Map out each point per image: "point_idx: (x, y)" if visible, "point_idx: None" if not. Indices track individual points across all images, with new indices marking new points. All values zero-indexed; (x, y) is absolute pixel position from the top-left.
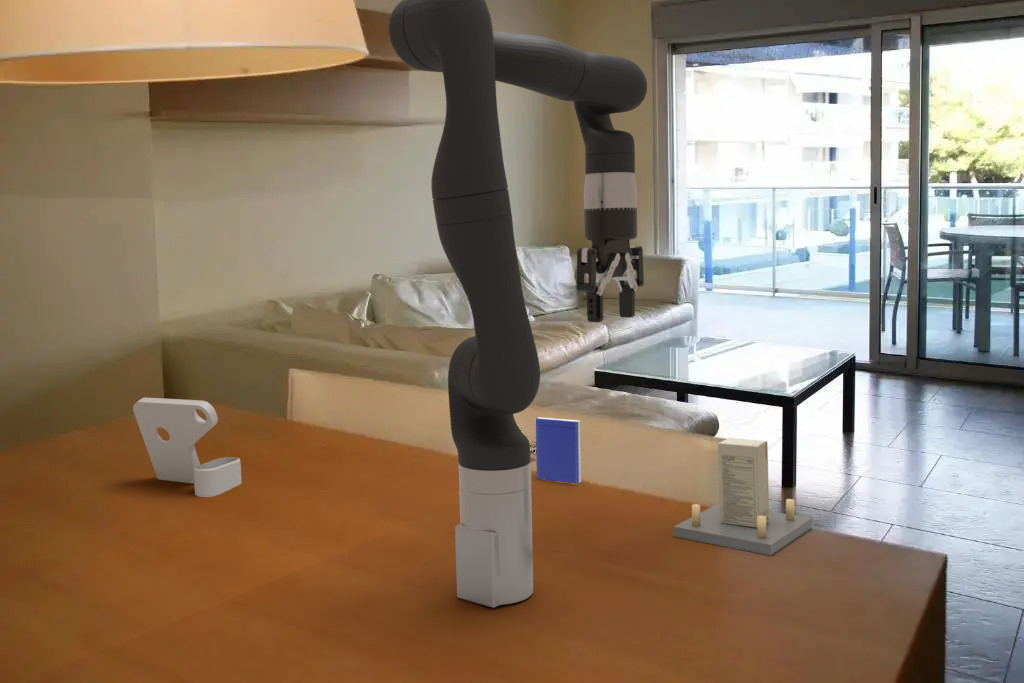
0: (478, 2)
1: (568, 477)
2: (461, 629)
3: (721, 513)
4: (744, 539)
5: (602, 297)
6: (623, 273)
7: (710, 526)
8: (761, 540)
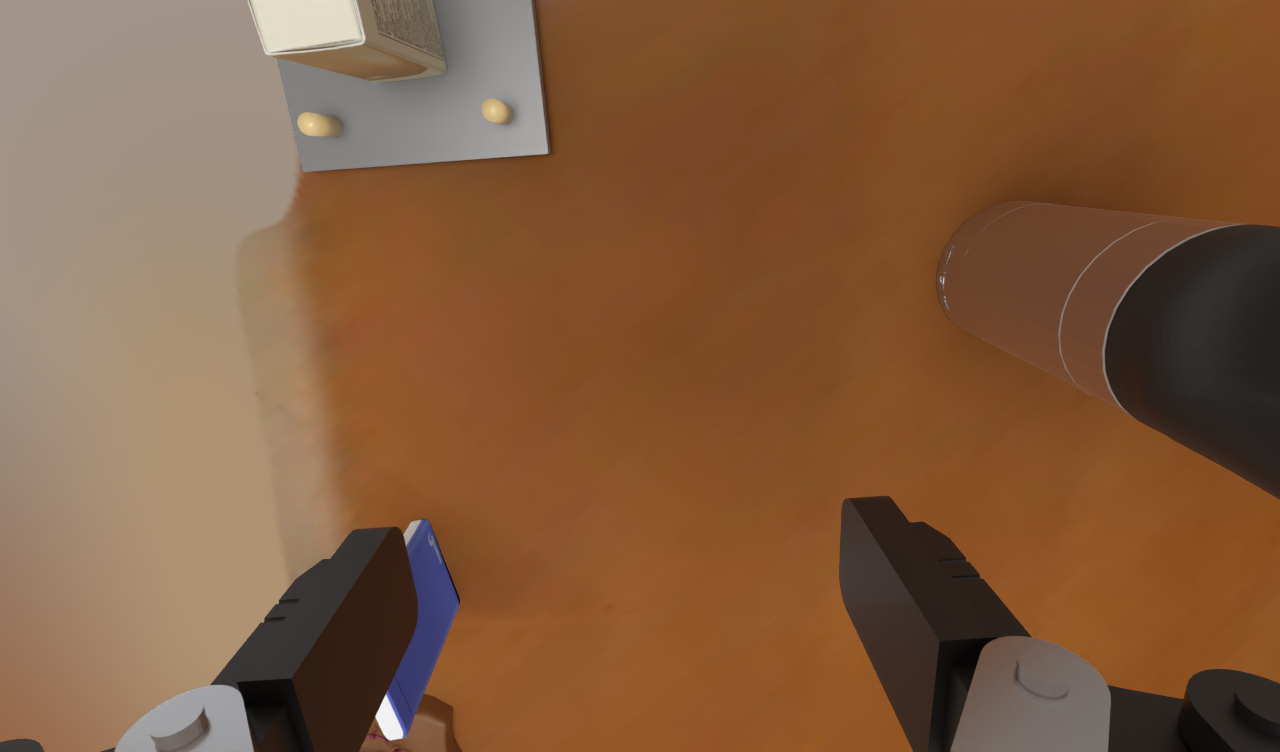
0: None
1: (426, 555)
2: (1235, 163)
3: (439, 64)
4: None
5: (938, 627)
6: None
7: (487, 77)
8: None
